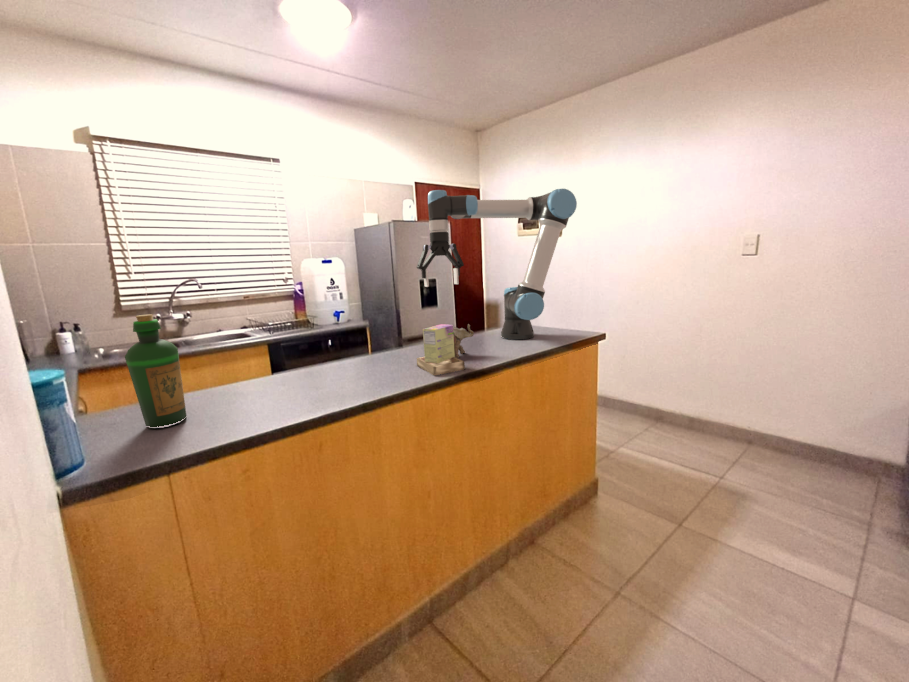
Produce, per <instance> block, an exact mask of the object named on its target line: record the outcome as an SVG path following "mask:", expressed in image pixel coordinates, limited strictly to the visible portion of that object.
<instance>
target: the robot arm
mask: <svg viewBox="0 0 909 682" xmlns="http://www.w3.org/2000/svg"><path fill="white" fill-rule="evenodd" d="M577 204H578V203H577V198H576V196H575V194H574V193H573V192H572V191H571V190H569V189H568V188H567V189H566V188H557V189H556V188H555V189H554V190H552V191H551V192H547V193H545V194H543V195H540V196H529V197H527V198H526V199H478V197H477V195H470V194H466V195H448V194H447V191H446V190H445V189H435V190H434V189H433V190H430V191H429V192H428V194H427V209H428V210H427V211H428V225H429V227H428V228H429V232H430V233H429V242H430V244H423V245H422V252H421V254H420V257H419V258H418V259H419V260H418V262H417V265H416V269H418V270H420V271H421V278H422V279H423V283H424V287H426V288H428V287H430V284H429V270H428V267H429V265H430V264H431V263H432V261H433V260H434V258H435V257H438V256H441V257H442V256H445V257H446V258H447V260H448V261H449V262H450V263H451V264H452V266H454V268H453V270H452V272H453V285H459V283H460V282H459V277H460V274H461V268H462V267H464V266H465V263H464V262H463V259H462V258H461V255H460V253H459V251H458V249H457V248H458V247H457V244H456V243H450V240H449V239H450V237H449V236H450V235H449V232H448V231H449V220H448V219H449V217H451V218H452V219H454V220H461V219H526V220H528V221H538V223H539V224H540V226H539V229H538V233H537V235H536V239H535V243H534V245H533V248H532V251H531V255H530V258H529V261H528V264H527V268H526V270H525V271H526V272H525V274H524V277H523V281H521V282H520V283H518V285H517V286H513V287H507V288H504V291H503V292H504V293H503V297H504V299H503V300H504V301H503V304H504V305H503V306H504V308H503V309H504V312H503V313H504V321H503V325H502V328H501V331H500V336H502V337H504V338H508V339H507V340H511V339H523V340H530V339H532V338H534V336H535V331H534V328H533V325H532V322H531V321H532V320H535V319H537V318H539V317H540V316H541V315H542V313H543V311H544V309H545V301H544V296H545V293H546V290H545V289H544V285H545V282H546V278H547V275H548V272H549V269H550V265H551V263H552V261H553V260H552V259H553V257H554V254H555V251H556V246H557V243H558V241H559V237H560V234H561V232H562V230H564V229H565V228H567V225H568V222H569V219H570V218H571V217H572V216H573V215H574V214H575V212H576V209H577V207H578V205H577ZM449 243H450V244H449ZM450 250H451V252H452V253H451V252H450ZM429 251H430V253H429V256H428V257H427V255H428V252H429ZM502 337H501V338H502ZM504 338H503V339H504ZM529 338H530V339H529Z"/></svg>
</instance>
